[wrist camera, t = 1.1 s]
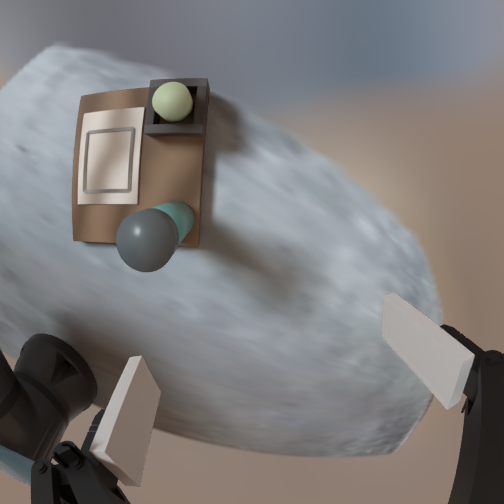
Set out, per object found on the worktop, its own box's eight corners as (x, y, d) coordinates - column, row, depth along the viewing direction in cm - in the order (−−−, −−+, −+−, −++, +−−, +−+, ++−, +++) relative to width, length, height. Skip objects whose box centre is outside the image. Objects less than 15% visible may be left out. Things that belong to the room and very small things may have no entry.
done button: (157, 122, 25) (150, 117, 22) (161, 91, 24) (154, 82, 21) (191, 122, 25) (187, 116, 22) (195, 90, 24) (191, 81, 22)
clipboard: (77, 238, 30) (63, 245, 26) (85, 98, 26) (71, 91, 22) (199, 244, 31) (195, 252, 28) (209, 89, 27) (207, 78, 24)
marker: (157, 236, 30) (117, 270, 18) (158, 198, 29) (115, 210, 17) (194, 238, 30) (173, 273, 18) (196, 200, 29) (174, 211, 17)
